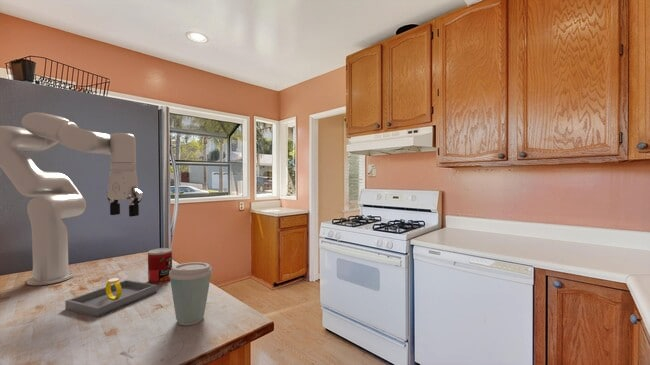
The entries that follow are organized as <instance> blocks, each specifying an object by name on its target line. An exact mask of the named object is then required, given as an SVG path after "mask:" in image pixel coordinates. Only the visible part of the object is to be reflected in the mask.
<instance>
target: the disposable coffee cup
mask: <svg viewBox="0 0 650 365" xmlns="http://www.w3.org/2000/svg"><path fill="white" fill-rule="evenodd" d="M212 273H213V266H211V264H210V263H208V262H199V261H198V262H197V261H195V262H194V261H192V262H191V261H190V262H185V263H179V264H178V263H177V264H175V265H172V268H171V271H170V272H169V277H170V280H169V281H170V288H171V294H172V299H173V307H174V313H175V321H177V323H178V324H179V325H181V326H192V325H195V324H198V323H200V322H201V321H203V318H204V317H205V313H206V312H205V311H206V306H207V301H208V300H207V299H208V294H209V287H210V282H211V278H212V277H211V276H212Z"/></svg>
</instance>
